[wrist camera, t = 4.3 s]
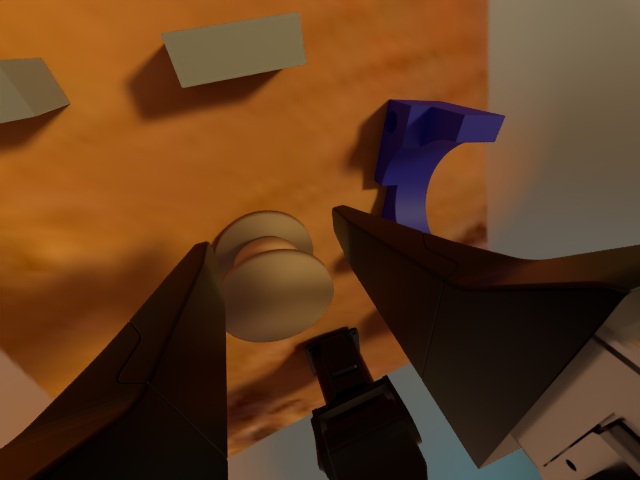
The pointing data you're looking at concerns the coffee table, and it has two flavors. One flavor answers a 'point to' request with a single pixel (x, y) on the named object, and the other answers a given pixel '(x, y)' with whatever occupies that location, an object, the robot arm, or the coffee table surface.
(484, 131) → the blue curved block
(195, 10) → the coffee table surface
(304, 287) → the spool
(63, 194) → the coffee table surface
